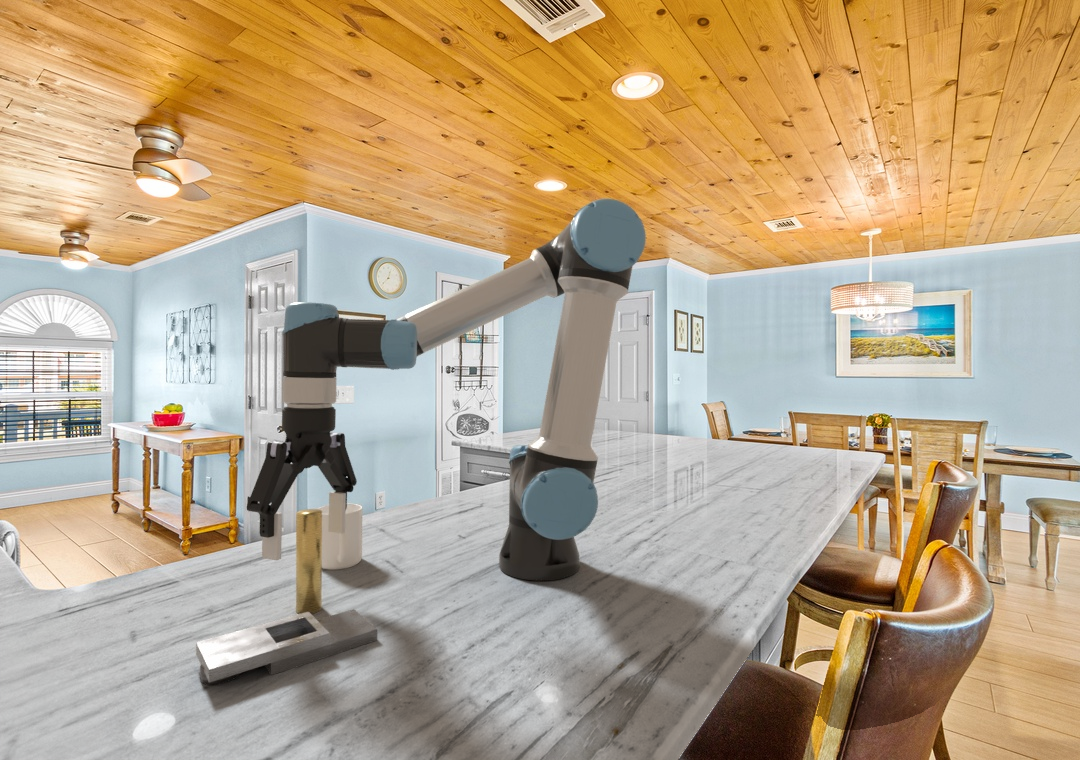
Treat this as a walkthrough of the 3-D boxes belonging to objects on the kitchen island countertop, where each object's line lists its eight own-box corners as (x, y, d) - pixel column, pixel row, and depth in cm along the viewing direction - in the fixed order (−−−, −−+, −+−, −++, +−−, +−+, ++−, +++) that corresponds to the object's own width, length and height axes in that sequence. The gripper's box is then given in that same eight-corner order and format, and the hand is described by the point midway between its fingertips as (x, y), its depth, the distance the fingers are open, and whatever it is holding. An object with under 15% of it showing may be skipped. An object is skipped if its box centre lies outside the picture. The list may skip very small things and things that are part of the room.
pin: (326, 606, 85) (327, 510, 85) (309, 616, 82) (310, 516, 82) (307, 602, 87) (308, 508, 86) (290, 612, 83) (290, 513, 83)
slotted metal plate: (353, 619, 81) (353, 599, 81) (377, 639, 75) (377, 618, 75) (194, 666, 68) (194, 642, 68) (207, 696, 62) (207, 670, 62)
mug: (367, 573, 99) (367, 517, 99) (317, 580, 96) (318, 521, 95) (359, 552, 110) (359, 501, 110) (314, 558, 106) (314, 505, 106)
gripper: (343, 400, 97) (340, 520, 97) (218, 409, 73) (216, 567, 73) (379, 402, 94) (376, 525, 95) (262, 412, 71) (259, 576, 71)
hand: (306, 544), depth 84 cm, fingers open, 13 cm apart
